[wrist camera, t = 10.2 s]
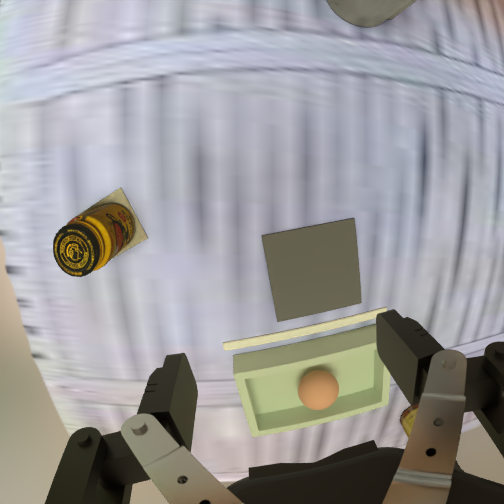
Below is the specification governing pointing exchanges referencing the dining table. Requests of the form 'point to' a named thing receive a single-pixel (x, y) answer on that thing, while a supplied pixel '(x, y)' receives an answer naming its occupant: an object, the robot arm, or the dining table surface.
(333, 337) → the tray
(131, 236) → the condiment
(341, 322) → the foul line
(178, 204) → the dining table surface
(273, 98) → the dining table surface
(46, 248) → the dining table surface
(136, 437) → the robot arm
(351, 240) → the mat
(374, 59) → the dining table surface
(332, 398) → the ball
